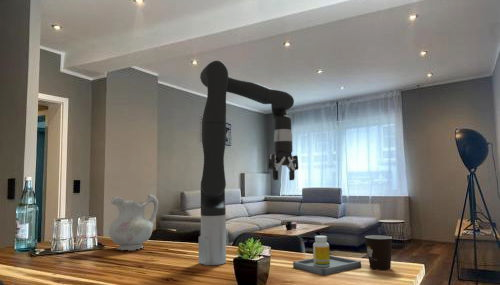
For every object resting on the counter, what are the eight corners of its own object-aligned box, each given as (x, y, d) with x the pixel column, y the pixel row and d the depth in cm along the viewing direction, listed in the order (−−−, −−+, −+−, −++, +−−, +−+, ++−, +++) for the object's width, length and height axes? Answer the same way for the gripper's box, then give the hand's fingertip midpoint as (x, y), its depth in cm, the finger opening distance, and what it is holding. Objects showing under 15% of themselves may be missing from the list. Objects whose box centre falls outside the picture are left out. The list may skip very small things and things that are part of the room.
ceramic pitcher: (147, 245, 180) (146, 195, 184) (165, 247, 165) (163, 192, 169) (103, 251, 166) (103, 197, 170) (118, 253, 151) (117, 194, 156)
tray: (323, 275, 111) (323, 269, 111) (293, 267, 122) (293, 261, 122) (361, 266, 121) (360, 261, 121) (329, 260, 132) (329, 255, 132)
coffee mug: (396, 271, 114) (394, 239, 115) (368, 270, 115) (366, 238, 117) (389, 263, 125) (388, 234, 126) (364, 263, 127) (362, 234, 128)
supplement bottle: (310, 264, 122) (309, 235, 123) (324, 263, 124) (323, 234, 125) (319, 268, 117) (317, 237, 118) (333, 266, 119) (331, 236, 120)
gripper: (275, 138, 142) (276, 180, 140) (301, 141, 150) (303, 180, 148) (264, 140, 148) (264, 180, 146) (289, 143, 156) (290, 180, 154)
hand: (284, 180), depth 147 cm, fingers open, 8 cm apart
